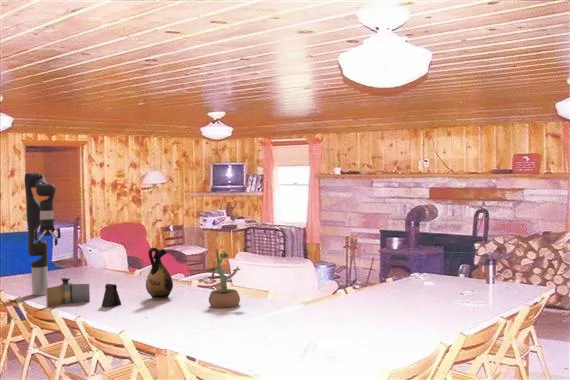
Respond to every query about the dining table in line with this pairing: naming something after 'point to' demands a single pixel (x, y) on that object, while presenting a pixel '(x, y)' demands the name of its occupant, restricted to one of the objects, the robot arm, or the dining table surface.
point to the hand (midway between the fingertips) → (47, 246)
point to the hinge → (67, 294)
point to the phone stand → (111, 296)
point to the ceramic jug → (158, 277)
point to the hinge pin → (65, 281)
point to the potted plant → (223, 287)
